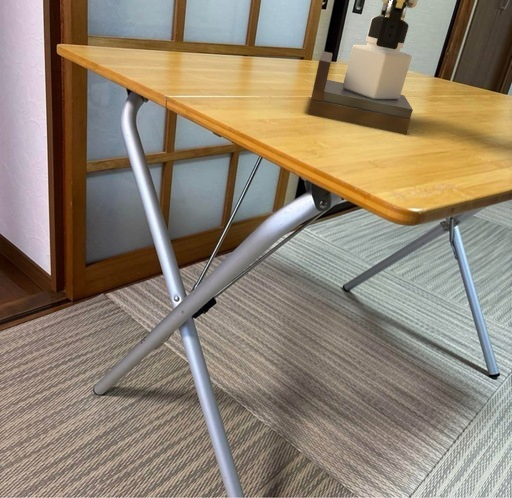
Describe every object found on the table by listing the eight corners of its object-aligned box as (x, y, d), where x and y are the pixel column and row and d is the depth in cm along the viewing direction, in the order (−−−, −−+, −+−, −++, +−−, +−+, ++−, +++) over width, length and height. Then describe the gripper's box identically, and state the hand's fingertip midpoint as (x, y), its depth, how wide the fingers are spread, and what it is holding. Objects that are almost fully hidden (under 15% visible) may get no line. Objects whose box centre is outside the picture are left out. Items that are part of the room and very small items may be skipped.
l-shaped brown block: (397, 116, 94) (411, 69, 90) (405, 135, 82) (422, 80, 78) (312, 99, 95) (322, 51, 91) (307, 114, 83) (319, 59, 79)
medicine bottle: (399, 99, 87) (422, 23, 81) (374, 100, 82) (395, 19, 77) (367, 89, 91) (386, 16, 86) (341, 88, 87) (359, 11, 81)
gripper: (453, -82, 67) (413, 54, 75) (433, -68, 83) (401, 44, 91) (396, -92, 68) (362, 45, 76) (387, -76, 83) (359, 36, 91)
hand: (383, 44), depth 83 cm, fingers open, 9 cm apart
